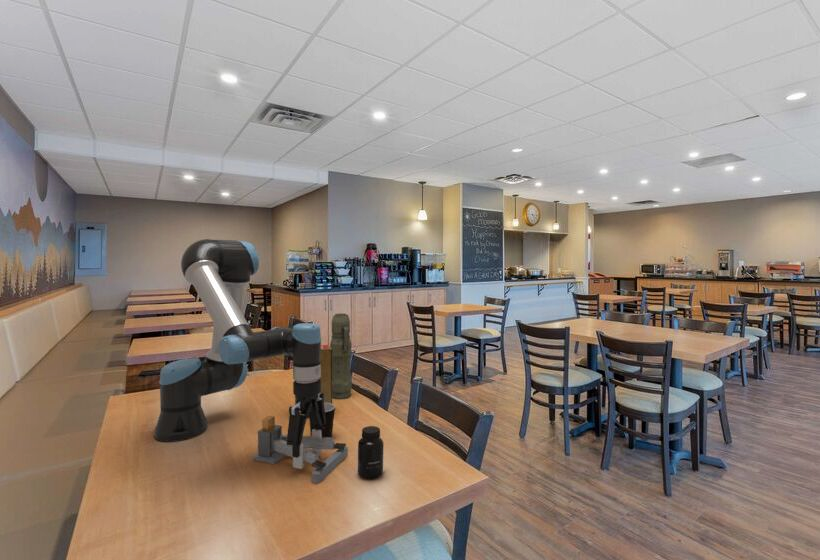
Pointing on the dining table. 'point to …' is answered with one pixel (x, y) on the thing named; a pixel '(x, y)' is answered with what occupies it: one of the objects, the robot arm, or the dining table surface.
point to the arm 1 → (308, 454)
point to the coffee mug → (329, 420)
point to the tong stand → (317, 473)
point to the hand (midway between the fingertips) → (307, 459)
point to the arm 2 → (318, 442)
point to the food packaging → (325, 374)
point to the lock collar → (268, 435)
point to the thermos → (341, 357)
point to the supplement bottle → (370, 453)
